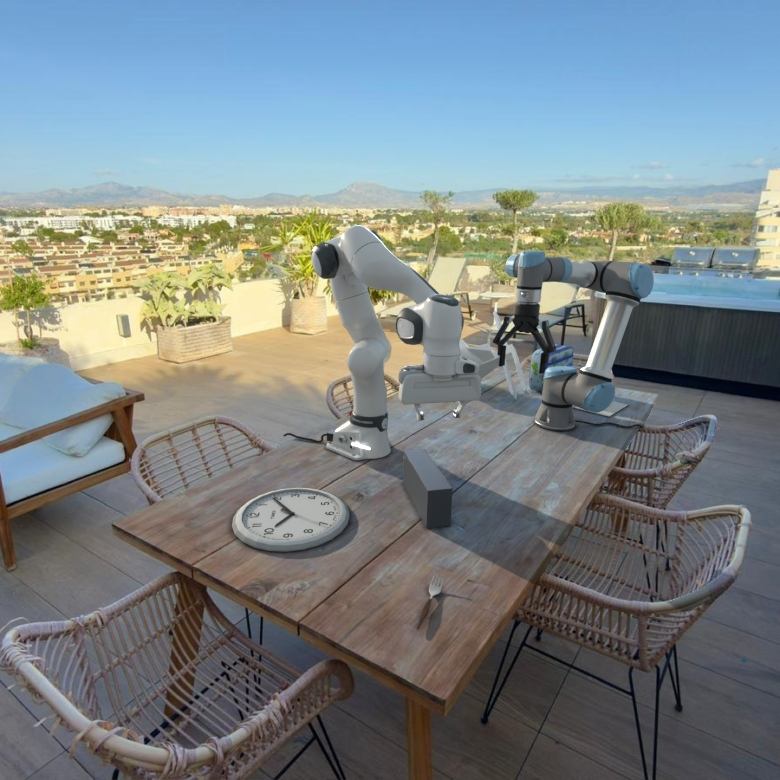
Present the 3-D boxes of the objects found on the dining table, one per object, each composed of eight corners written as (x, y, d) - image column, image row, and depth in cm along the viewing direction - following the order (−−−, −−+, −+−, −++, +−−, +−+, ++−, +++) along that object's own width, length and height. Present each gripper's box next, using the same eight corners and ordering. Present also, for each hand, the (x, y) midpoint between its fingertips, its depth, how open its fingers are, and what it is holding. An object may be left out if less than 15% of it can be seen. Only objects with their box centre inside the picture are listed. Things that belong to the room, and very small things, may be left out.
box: (402, 483, 156) (403, 450, 153) (423, 481, 157) (424, 448, 154) (426, 528, 133) (427, 490, 130) (450, 525, 134) (452, 488, 131)
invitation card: (608, 416, 214) (573, 407, 224) (608, 416, 214) (573, 408, 224) (628, 404, 229) (594, 396, 238) (628, 405, 229) (594, 397, 238)
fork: (410, 630, 99) (410, 621, 98) (433, 579, 113) (433, 571, 113) (423, 633, 98) (424, 625, 97) (444, 582, 112) (445, 574, 112)
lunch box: (545, 397, 238) (550, 352, 231) (524, 391, 245) (529, 348, 239) (572, 386, 255) (578, 344, 249) (552, 381, 262) (557, 340, 256)
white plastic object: (461, 429, 252) (437, 405, 227) (444, 352, 274) (420, 323, 250) (535, 404, 240) (518, 377, 215) (510, 326, 262) (492, 293, 237)
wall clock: (350, 543, 123) (219, 547, 120) (350, 549, 123) (220, 553, 121) (349, 483, 151) (243, 486, 149) (349, 488, 152) (243, 491, 149)
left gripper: (402, 369, 120) (400, 425, 124) (485, 365, 124) (481, 420, 128) (395, 362, 125) (394, 416, 130) (475, 359, 130) (472, 411, 134)
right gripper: (485, 300, 165) (480, 365, 171) (563, 308, 151) (555, 378, 157) (495, 297, 171) (491, 360, 177) (572, 305, 157) (563, 373, 163)
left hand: (438, 418), depth 129 cm, fingers open, 8 cm apart
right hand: (521, 369), depth 167 cm, fingers open, 13 cm apart
